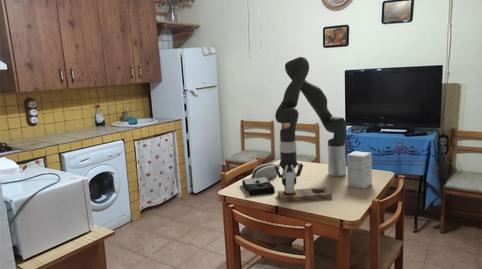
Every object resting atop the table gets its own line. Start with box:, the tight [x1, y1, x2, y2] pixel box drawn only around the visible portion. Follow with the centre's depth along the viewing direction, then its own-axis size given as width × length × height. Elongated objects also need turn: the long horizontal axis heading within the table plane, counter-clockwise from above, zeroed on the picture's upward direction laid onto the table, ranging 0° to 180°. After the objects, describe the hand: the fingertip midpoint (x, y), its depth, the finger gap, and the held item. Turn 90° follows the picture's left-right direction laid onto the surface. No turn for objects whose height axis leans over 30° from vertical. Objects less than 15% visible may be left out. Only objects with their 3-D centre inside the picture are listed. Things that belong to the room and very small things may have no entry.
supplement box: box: [346, 150, 373, 189], centre depth 188 cm, size 10×9×17 cm
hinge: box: [250, 163, 278, 180], centre depth 208 cm, size 17×5×10 cm, turn 124°
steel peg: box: [283, 171, 296, 193], centre depth 174 cm, size 4×4×10 cm
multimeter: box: [241, 177, 276, 197], centre depth 192 cm, size 13×19×5 cm
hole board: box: [277, 186, 333, 204], centre depth 176 cm, size 24×10×3 cm, turn 95°
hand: (289, 185), depth 174 cm, fingers closed on steel peg, 4 cm apart
